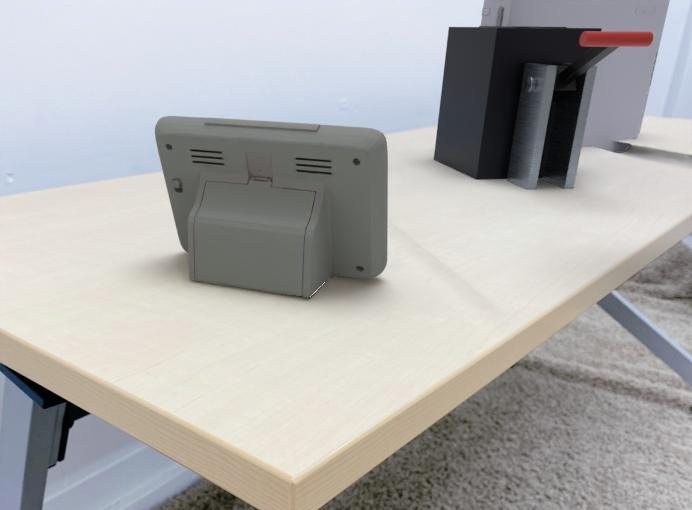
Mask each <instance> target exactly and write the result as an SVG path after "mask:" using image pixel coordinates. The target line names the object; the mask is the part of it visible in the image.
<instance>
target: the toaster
mask: <svg viewBox="0 0 692 510" xmlns="http://www.w3.org/2000/svg"><path fill="white" fill-rule="evenodd" d="M601 30H602V28H567V27H531V26H513V27H511V26H480V25H479V26H448V29H447V31H448V32H447V40H446V49H445V57H444V66H443V74H442V84H441V92H440V100H439V109H438V110H439V111H438V116H437V117H438V118H437V127H436V134H435V135H436V137H435V145H434V152H433V160H434V162H437V163H439V164H442V165H444V166H446V167H448V168H450V169H453V170H455V171H456V172H458V173H461V174H463V175H465V176H467V177H469V178H471V179H474V180H476V181H477V180H479V181H481V180H507V175H508V169H509V163H510V156H511V150H512V144H513V137H514V131H515V125H516V118H517V112H518V106H519V99H520V93H521V87H522V80H523V74H524V68H525V64H526V63H535V64H545V65H554V66H563V63H573V62H574V61H576V60H577V59H578V58H580V57H581V56H582V55H583V54H585V53H586V52H587V51H588V50H590V49H591V48H592V47H582V46H581V45H580V43H579V40H580V36H581V34H582V33H583V32H584V31H601ZM555 105H556V102H551V107H550V112H549V118H548V124H547V129H546V135H545V141H544V147H543V152H542V158H541V164H540V169H539V175H538V179H542V178H543V173H544V167H545V161H546V156H547V150H548V145H549V139H550V133H551V128H552V122H553V116H554V111H555Z"/></svg>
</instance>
